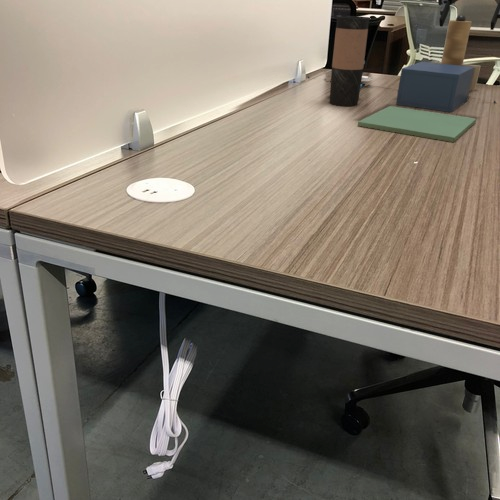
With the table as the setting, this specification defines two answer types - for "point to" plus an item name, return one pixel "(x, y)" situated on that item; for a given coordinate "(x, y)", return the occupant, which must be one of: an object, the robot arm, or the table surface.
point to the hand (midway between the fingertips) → (465, 24)
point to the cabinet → (434, 86)
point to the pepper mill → (456, 41)
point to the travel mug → (348, 59)
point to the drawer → (474, 77)
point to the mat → (419, 123)
